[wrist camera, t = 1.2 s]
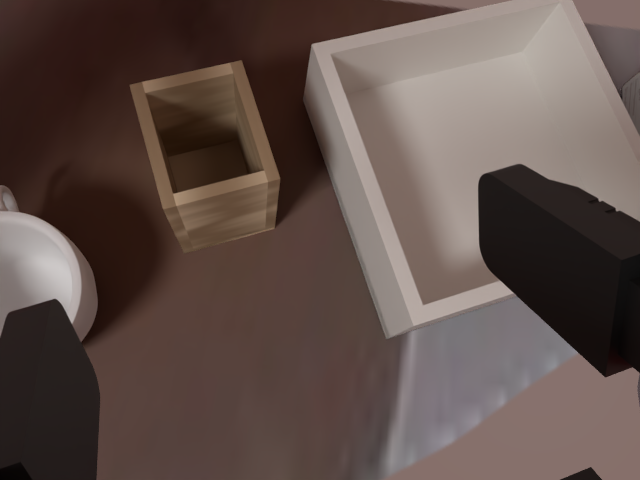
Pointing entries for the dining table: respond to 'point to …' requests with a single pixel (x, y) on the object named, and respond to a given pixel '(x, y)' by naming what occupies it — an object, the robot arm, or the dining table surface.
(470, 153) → the big plastic crate
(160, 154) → the small wooden crate
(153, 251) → the dining table surface
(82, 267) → the teacup
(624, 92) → the supplement box
